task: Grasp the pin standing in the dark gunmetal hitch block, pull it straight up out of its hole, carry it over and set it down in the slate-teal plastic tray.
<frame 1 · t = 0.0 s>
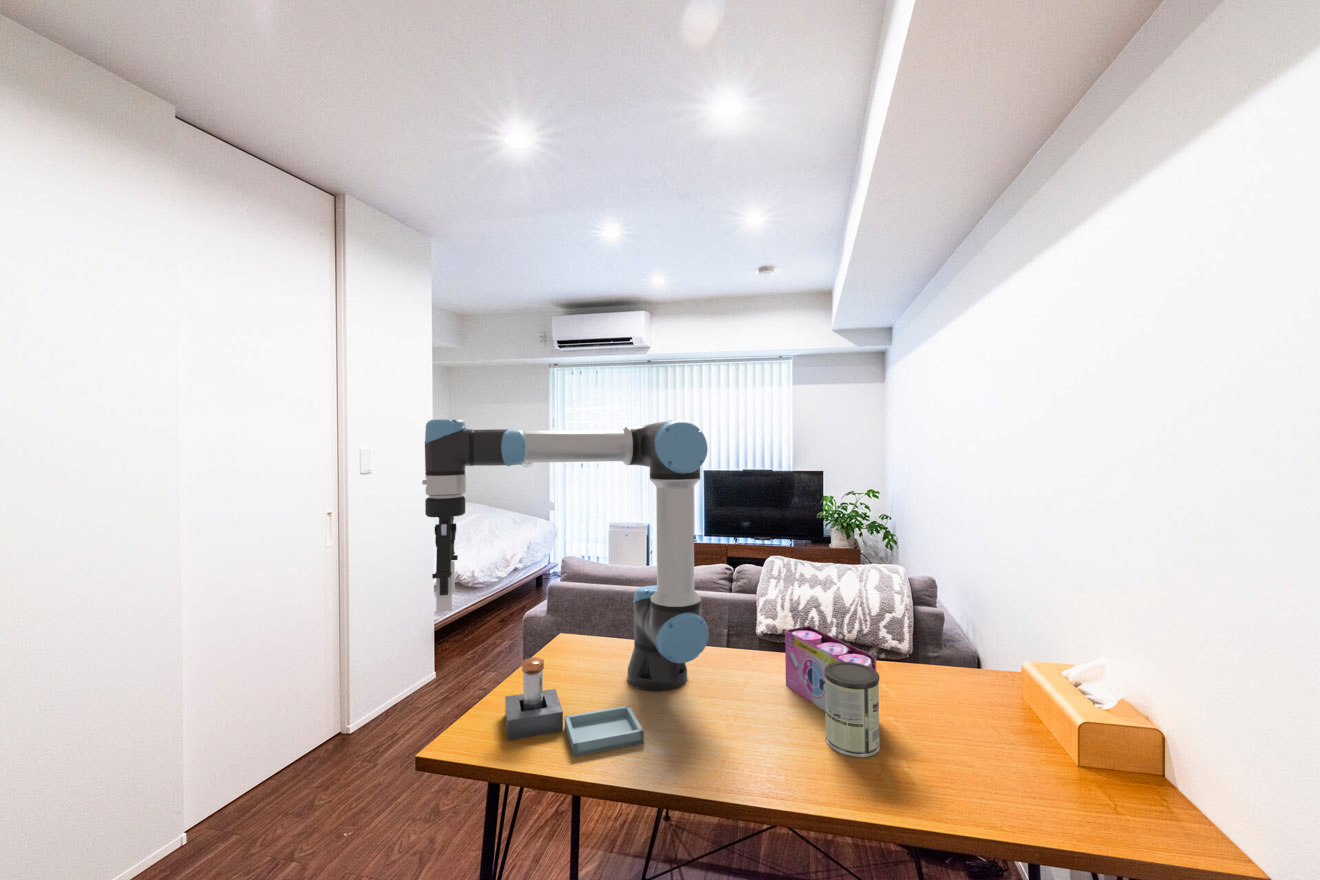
hand: (446, 601, 110), 28 cm above the table, fingers open, 13 cm apart
coffee can: (851, 744, 108), on the table
tray: (603, 735, 111), on the table
pin: (533, 692, 116), in the hitch block
hitch block: (533, 722, 116), on the table
gum box: (828, 702, 125), on the table
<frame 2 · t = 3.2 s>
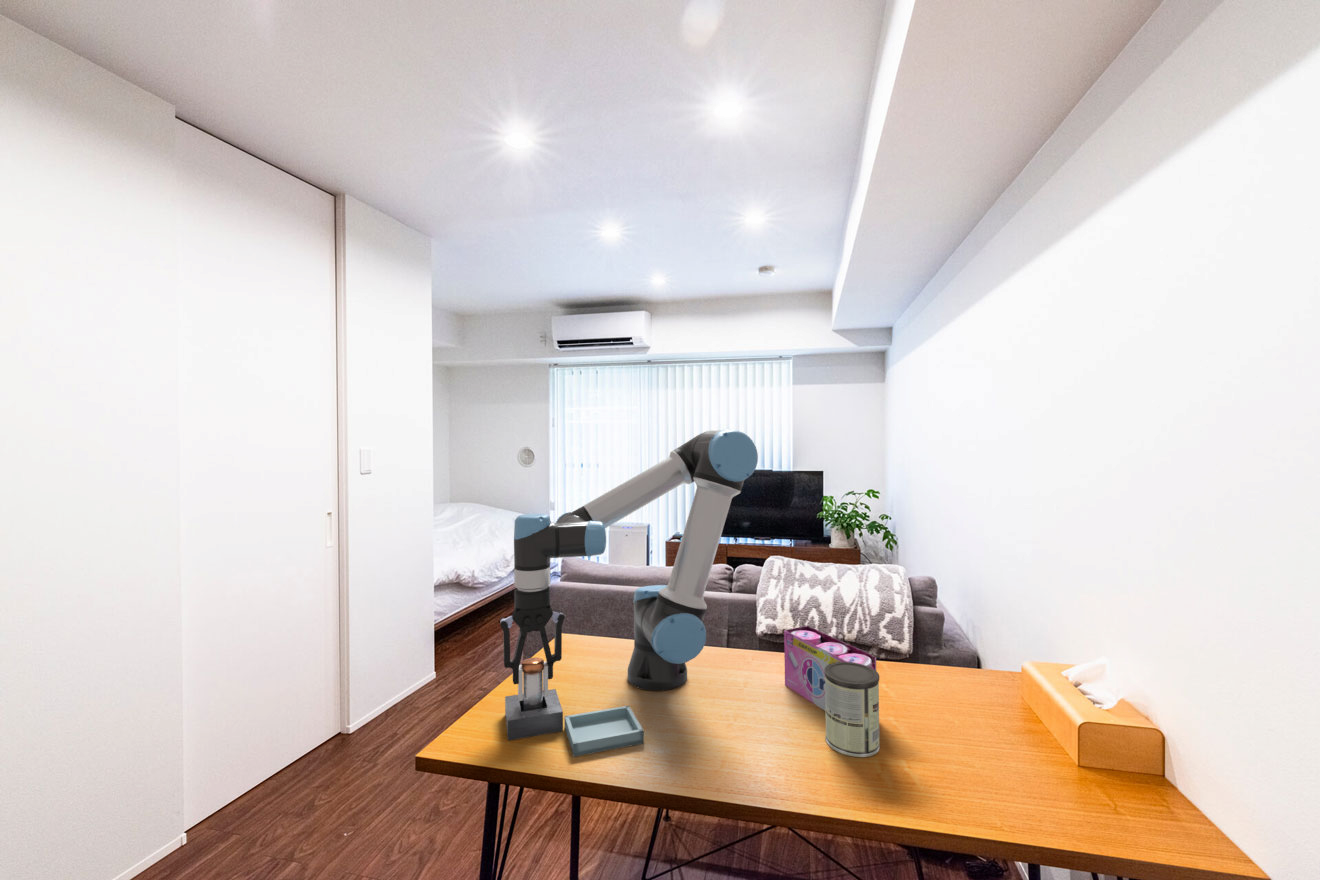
hand: (533, 695, 116), 6 cm above the table, fingers closed on pin, 4 cm apart
pin: (533, 692, 116), in the hitch block, touching gripper
everything else where it was.
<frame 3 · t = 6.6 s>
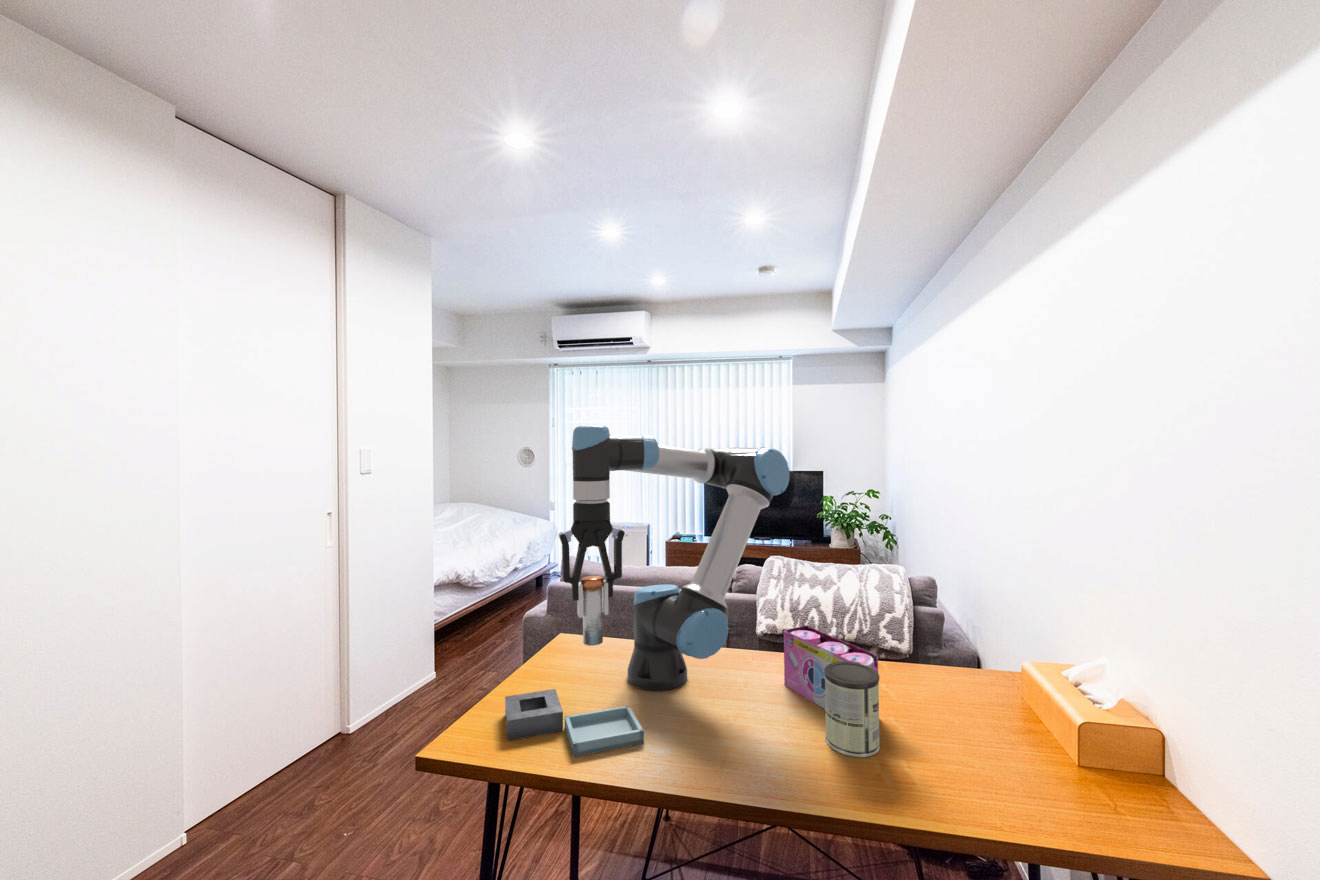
hand: (592, 614, 112), 25 cm above the table, fingers closed on pin, 4 cm apart
pin: (592, 610, 112), point 25 cm above the table, touching gripper
everything else where it was.
when the fingers open (8 cm above the table, at t = 10.2 s): pin drops 2 cm, resting on tray.
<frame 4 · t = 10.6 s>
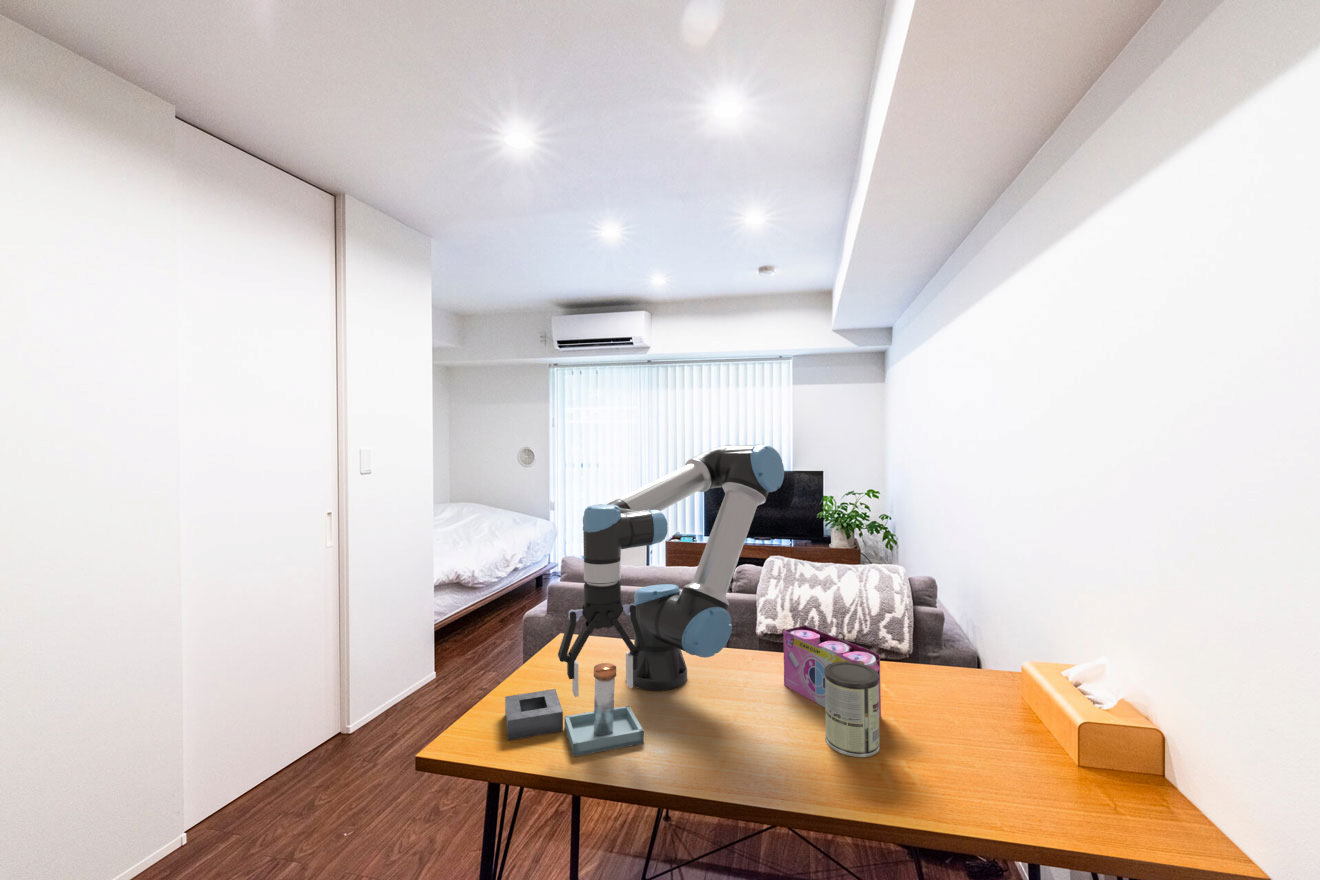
hand: (602, 689, 111), 9 cm above the table, fingers open, 10 cm apart
pin: (604, 699, 111), in the tray, point 7 cm above the table
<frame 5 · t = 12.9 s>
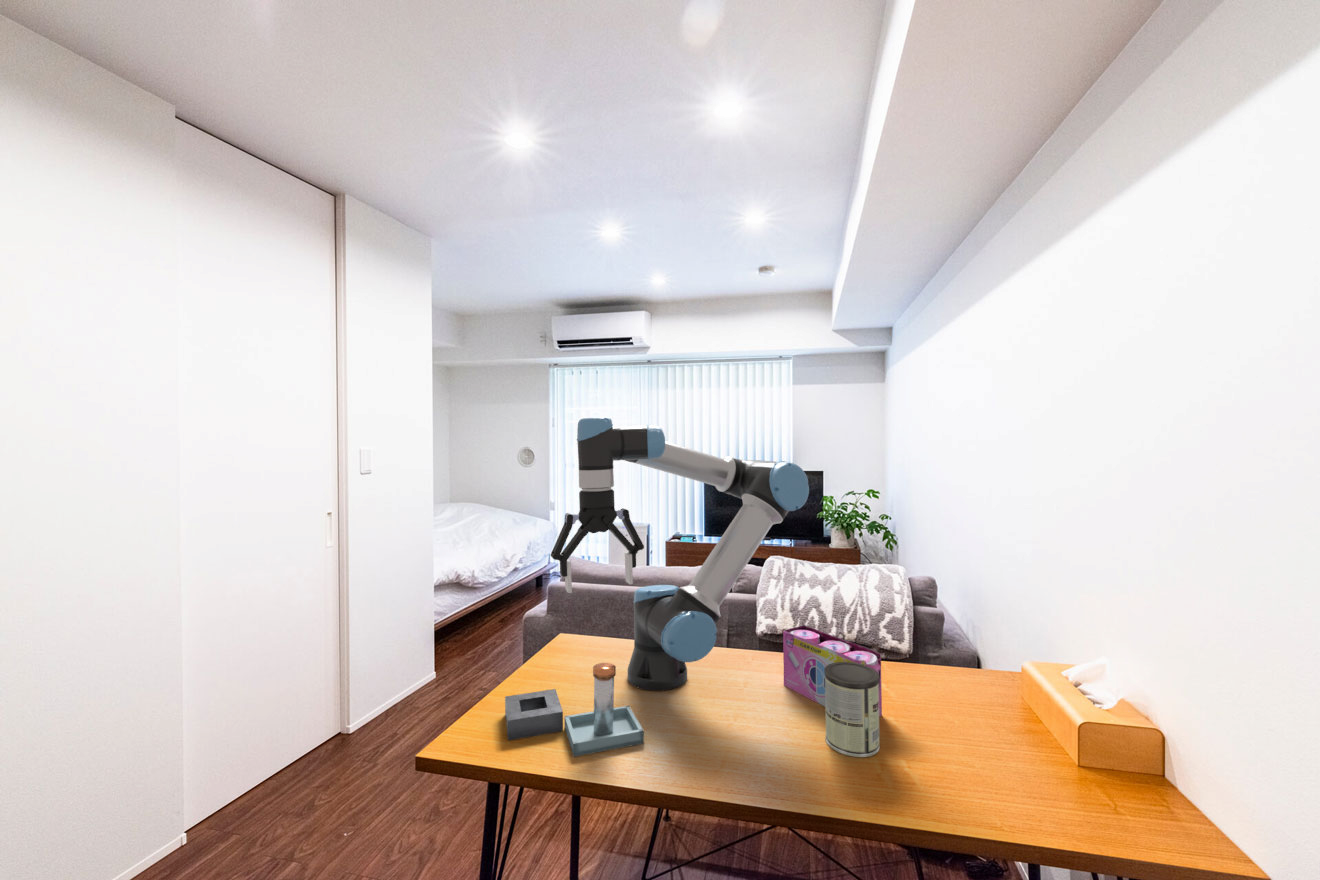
hand: (599, 587, 118), 29 cm above the table, fingers open, 13 cm apart
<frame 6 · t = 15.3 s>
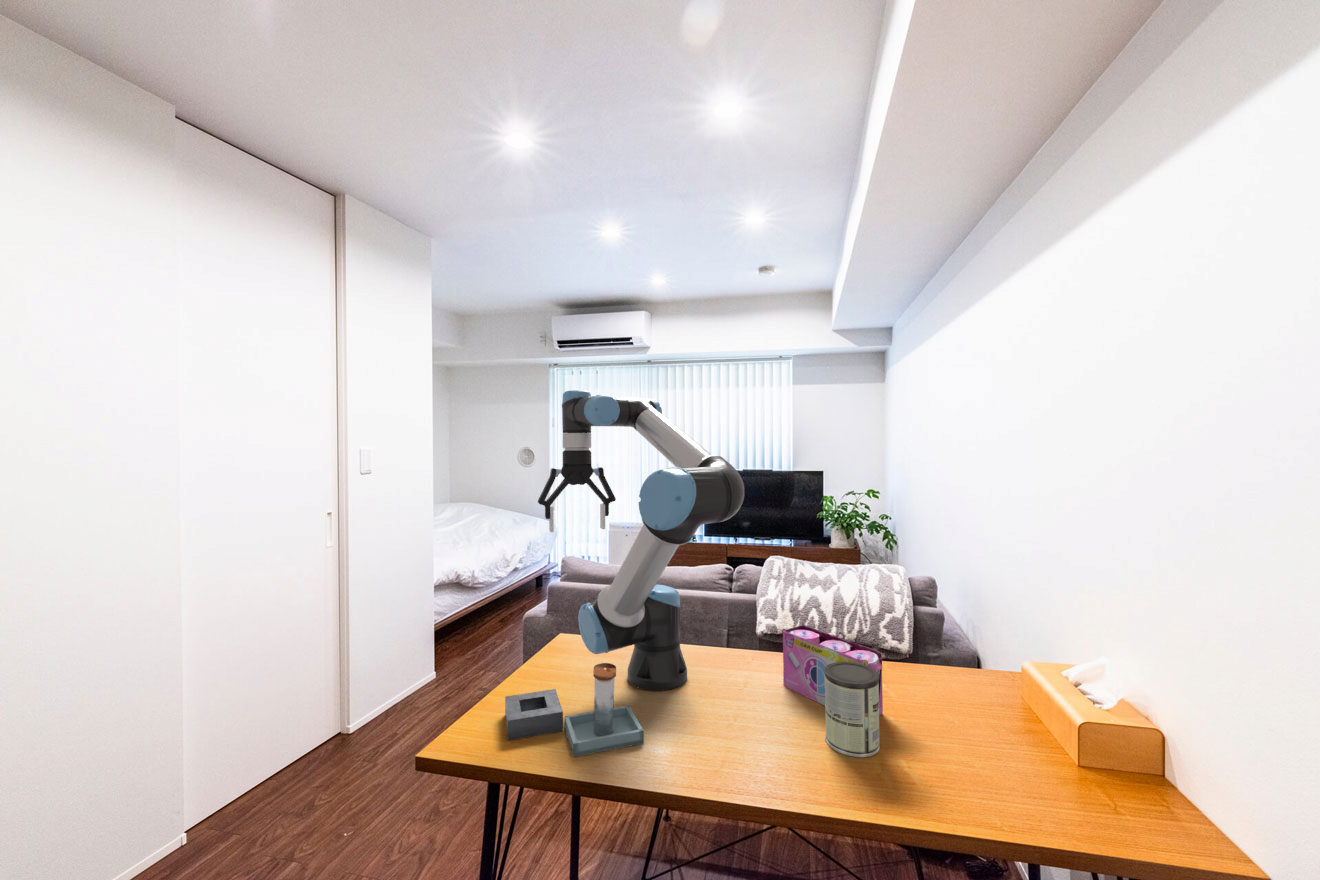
hand: (577, 530, 144), 37 cm above the table, fingers open, 13 cm apart
at the end: pin inside the target area on the tray (0.0 cm from its centre), point 7.4 cm above the tray's base; pin touching tray; the gripper is holding nothing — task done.
